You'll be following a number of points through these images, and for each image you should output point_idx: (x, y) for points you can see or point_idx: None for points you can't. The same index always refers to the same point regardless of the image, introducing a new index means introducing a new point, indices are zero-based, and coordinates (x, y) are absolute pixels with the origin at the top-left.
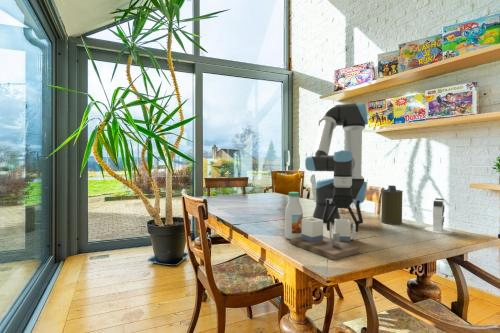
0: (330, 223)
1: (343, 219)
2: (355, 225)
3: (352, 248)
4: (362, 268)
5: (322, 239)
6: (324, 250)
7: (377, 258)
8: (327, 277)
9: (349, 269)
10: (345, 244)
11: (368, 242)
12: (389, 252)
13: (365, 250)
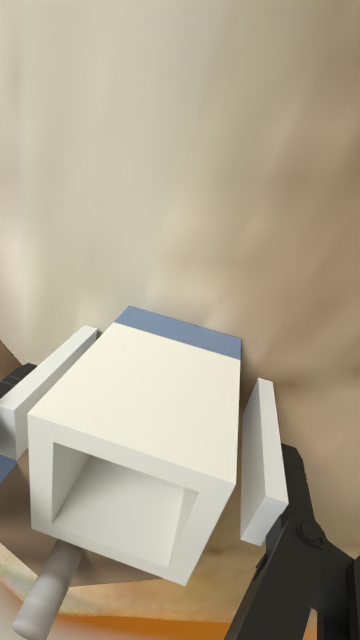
0: (5, 446)
1: (151, 470)
2: (258, 538)
3: (136, 576)
4: (133, 616)
5: (12, 466)
6: (22, 558)
7: (223, 596)
8: None
9: (96, 608)
10: None
11: (330, 457)
12: None
13: (222, 538)
